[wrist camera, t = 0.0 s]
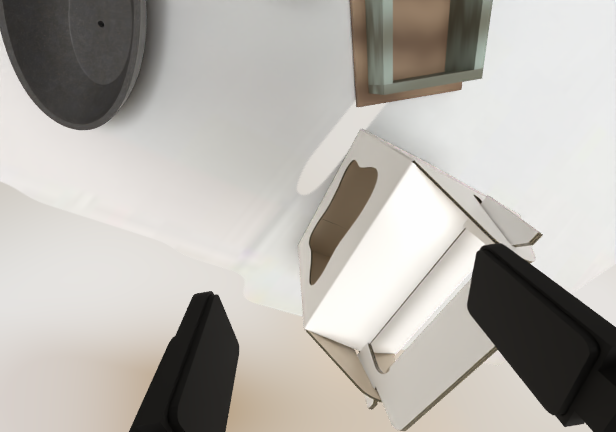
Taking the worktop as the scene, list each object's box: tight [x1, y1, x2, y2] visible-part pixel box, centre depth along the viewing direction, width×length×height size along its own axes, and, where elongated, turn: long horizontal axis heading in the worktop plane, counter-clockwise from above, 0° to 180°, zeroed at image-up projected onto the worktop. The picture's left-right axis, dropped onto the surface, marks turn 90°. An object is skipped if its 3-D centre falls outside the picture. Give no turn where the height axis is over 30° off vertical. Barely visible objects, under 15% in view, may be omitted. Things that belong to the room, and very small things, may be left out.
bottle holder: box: [350, 0, 493, 107], centre depth 30 cm, size 14×14×7 cm
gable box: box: [298, 129, 543, 431], centre depth 31 cm, size 22×13×28 cm, turn 154°
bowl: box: [0, 0, 147, 130], centre depth 27 cm, size 12×22×6 cm, turn 157°
